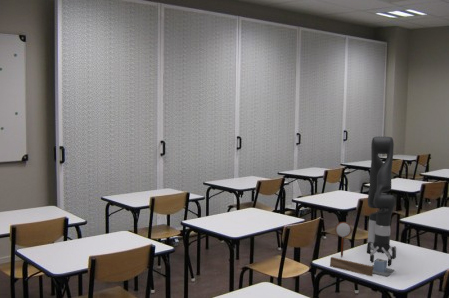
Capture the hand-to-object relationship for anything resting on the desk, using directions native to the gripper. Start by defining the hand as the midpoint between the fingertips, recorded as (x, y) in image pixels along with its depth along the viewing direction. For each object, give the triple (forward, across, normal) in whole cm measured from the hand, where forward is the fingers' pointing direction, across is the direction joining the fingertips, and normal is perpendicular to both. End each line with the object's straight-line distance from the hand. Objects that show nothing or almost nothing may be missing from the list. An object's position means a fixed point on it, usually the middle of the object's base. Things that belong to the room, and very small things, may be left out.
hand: (380, 264), depth 251 cm
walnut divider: (+4, +12, +9) cm, 16 cm away
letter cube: (+3, 0, 0) cm, 3 cm away
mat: (+4, 0, 0) cm, 4 cm away
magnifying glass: (+4, +24, -8) cm, 26 cm away
